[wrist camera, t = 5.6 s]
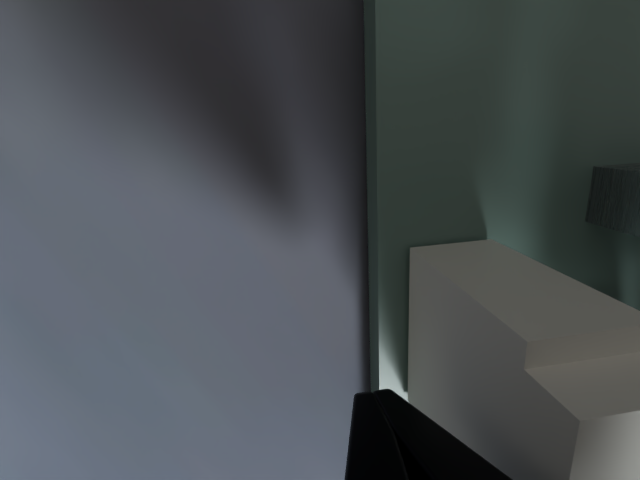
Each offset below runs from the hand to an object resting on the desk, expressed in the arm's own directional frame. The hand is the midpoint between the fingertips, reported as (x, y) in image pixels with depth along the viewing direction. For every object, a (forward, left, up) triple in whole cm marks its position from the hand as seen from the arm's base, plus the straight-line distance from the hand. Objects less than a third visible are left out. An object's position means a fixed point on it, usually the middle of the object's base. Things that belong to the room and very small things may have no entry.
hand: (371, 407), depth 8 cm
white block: (0, -4, -3) cm, 5 cm away
